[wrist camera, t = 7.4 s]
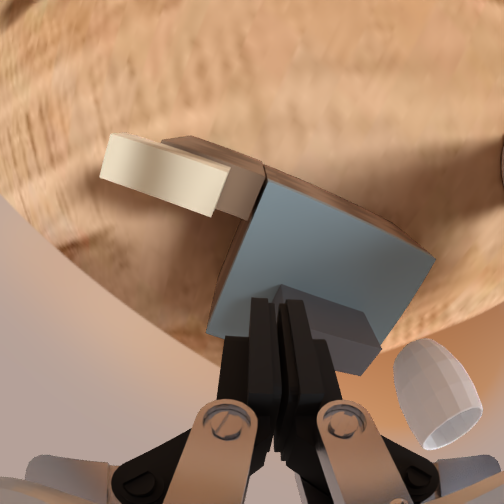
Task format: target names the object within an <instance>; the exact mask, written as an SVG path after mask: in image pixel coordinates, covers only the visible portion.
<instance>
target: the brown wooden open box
mask: <svg viewBox="0 0 504 504" xmlns="http://www.w3.org/2000/svg"><path fill="white" fill-rule="evenodd" d="M161 143H162V144H165V145H168V146H171V147H174V148H177V149H180V150H183V151H186V152H189V153H192V154H195V155H198V156H201V157H203V158H206V159H209V160H212V161H215V162H217V163H220V164H223V165H226V166H228V167H231V168H230V171H229V173H228V176H227V179H226V181H225V184H224V186H223V189H222V192H221V194H220V197H219V200H218V202H217V205H216V208H215V209H217V210H220V211H223V212H226V213H228V214H231V215H234V216H236V217H239V218H242V219H241V221H240V224H239V226H238V229H237V231H236V234H235V236H234V239H233V241H232V244H231V246H230V249H229V251H228V254H227V256H226V259H225V261H224V264H223V267H222V269H221V272H220V274H219V277H218V280H217V284H216V289H215V293H214V297H213V302H212V306H211V311H210V315H209V320H210V317H211V315H212V312H213V310H214V307H215V305H216V302H217V300H218V297H219V295H220V293H221V290H222V288H223V285H224V283H225V280H226V278H227V275H228V273H229V270H230V268H231V266H232V263H233V261H234V258H235V256H236V253H237V251H238V248H239V246H240V244H241V241H242V239H243V236H244V234H245V232H246V229H247V227H248V224H249V222H250V219H251V217H252V215H253V212H254V210H255V207H256V205H257V203H258V200H259V198H260V196H261V193H262V191H263V188H264V186H265V184H266V181H267V179H270V180H273V181H275V182H278V183H280V184H283V185H285V186H287V187H290V188H292V189H295V190H297V191H299V192H302V193H304V194H306V195H309V196H311V197H313V198H316V199H318V200H320V201H322V202H325V203H327V204H329V205H331V206H334V207H336V208H338V209H340V210H342V211H345V212H347V213H349V214H351V215H353V216H355V217H358V218H360V219H362V220H364V221H366V222H368V223H370V224H372V225H374V226H376V227H378V228H381V229H383V230H385V231H387V232H389V233H391V234H393V235H395V236H397V237H399V238H401V239H403V240H405V241H406V242H408V243H410V244H412V245H414V246H416V247H418V248H420V249H422V250H424V251H426V250H425V249H424V248H422V247H421V246H420V245H419V244H418V243H417V242H415V241H414V240H413V239H412V238H410V237H409V236H408V235H407V234H406V233H404V232H403V231H402V230H401V229H399V228H398V227H397V226H396V225H394V224H393V223H392V222H390V221H388V220H386V219H384V218H382V217H380V216H378V215H376V214H374V213H372V212H370V211H368V210H366V209H364V208H362V207H360V206H358V205H356V204H354V203H351V202H349V201H347V200H345V199H343V198H341V197H339V196H337V195H334V194H332V193H330V192H328V191H326V190H323V189H321V188H319V187H317V186H314V185H312V184H310V183H308V182H305V181H303V180H301V179H298V178H296V177H294V176H291V175H289V174H286V173H284V172H282V171H279V170H277V169H274V168H272V167H269V166H267V165H263V164H262V161H260V160H257V159H254V158H252V157H249V156H247V155H244V154H241V153H239V152H236V151H233V150H231V149H228V148H225V147H222V146H220V145H217V144H214V143H211V142H208V141H205V140H203V139H200V138H197V137H194V136H185V137H178V138H171V139H164V140H162V141H161ZM426 252H427V251H426ZM427 253H428V252H427ZM429 254H430V253H429ZM209 320H208V322H209Z"/></svg>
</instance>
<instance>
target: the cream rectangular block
mask: <svg viewBox="0 0 504 504" xmlns="http://www.w3.org/2000/svg"><path fill="white" fill-rule="evenodd" d="M230 168H231V167H228V166H226V165H223V164H220V163H217V162H215V161H212V160H209V159H206V158H203V157H201V156H198V155H195V154H192V153H189V152H186V151H183V150H180V149H177V148H174V147H171V146H168V145H165V144H162V143H159V142H156V141H153V140H150V139H146V138H143V137H140V136H137V135H133V134H130V133H127V132H124V133H113V134H111V135H110V138H109V142H108V145H107V149H106V153H105V156H104V160H103V164H102V168H101V173H100V177H99V178H102V179H105V180H108V181H111V182H114V183H117V184H119V185H122V186H125V187H128V188H131V189H134V190H136V191H139V192H142V193H145V194H148V195H150V196H153V197H156V198H159V199H161V200H164V201H167V202H170V203H173V204H175V205H178V206H181V207H183V208H186V209H189V210H192V211H194V212H197V213H200V214H203V215H205V216H208V217H211V216H212V214H213V212H214V210H215V208H216V205H217V202H218V200H219V197H220V194H221V192H222V189H223V186H224V184H225V181H226V179H227V176H228V173H229V171H230Z"/></svg>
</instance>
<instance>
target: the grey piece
mask: <svg viewBox="0 0 504 504" xmlns="http://www.w3.org/2000/svg"><path fill="white" fill-rule="evenodd" d="M435 260H436V259H435V258H434V257H433V256H432V255H431V254H429V253H427V252H426V251H424V250H422V249H420V248H418V247H416V246H414V245H412V244H410V243H408V242H406V241H405V240H403V239H401V238H399V237H397V236H395V235H393V234H391V233H389V232H387V231H385V230H383V229H381V228H378V227H376V226H374V225H372V224H370V223H368V222H366V221H364V220H362V219H360V218H358V217H355V216H353V215H351V214H349V213H347V212H345V211H342V210H340V209H338V208H336V207H334V206H331V205H329V204H327V203H325V202H322V201H320V200H318V199H316V198H313V197H311V196H309V195H306V194H304V193H302V192H299V191H297V190H295V189H292V188H290V187H287V186H285V185H283V184H280V183H278V182H275V181H273V180H270V179H267V181H266V184H265V186H264V188H263V191H262V193H261V196H260V198H259V200H258V203H257V205H256V207H255V210H254V212H253V215H252V217H251V219H250V222H249V224H248V227H247V229H246V232H245V234H244V236H243V239H242V241H241V244H240V246H239V248H238V251H237V253H236V256H235V258H234V261H233V263H232V266H231V268H230V270H229V273H228V275H227V278H226V280H225V283H224V285H223V288H222V290H221V293H220V295H219V297H218V300H217V302H216V305H215V307H214V310H213V312H212V315H211V317H210V320H209V322H208V325H207V329H206V333H207V334H210V335H213V336H216V337H219V338H222V339H225V335H226V336H241V337H248V336H249V322H250V308H251V297H254V298H268V303H274V304H275V314H276V323H277V315H278V307H279V303H285V300H286V299H295V300H303V302H304V306H305V310H306V314H307V318H308V322H309V326H310V330H311V335H312V339H325V340H326V342H327V345H328V348H329V352H330V355H331V359H332V362H333V366H334V370H335V371H339V372H344V373H349V374H353V375H358V376H361V375H362V374H363V373H364V371H365V370H366V369H367V367H368V366H369V365H370V364H371V362H372V361H373V360H374V359H375V358H376V356H377V355H378V354H379V352H380V351H381V350H382V348H381V346H380V345H381V344H382V342H383V341H384V339H385V338H386V337H387V335H388V334H389V333H390V331H391V330H392V328H393V327H394V325H395V324H396V323H397V321H398V320H399V318H400V317H401V315H402V314H403V312H404V311H405V309H406V308H407V306H408V305H409V303H410V302H411V300H412V299H413V297H414V295H415V294H416V292H417V291H418V289H419V287H420V286H421V284H422V282H423V281H424V279H425V277H426V276H427V274H428V272H429V271H430V269H431V267H432V266H433V264H434V262H435Z"/></svg>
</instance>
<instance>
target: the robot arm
mask: <svg viewBox="0 0 504 504" xmlns="http://www.w3.org/2000/svg"><path fill="white" fill-rule="evenodd" d="M502 178H503V184H504V148H503V152H502ZM273 435H274V452H281V461H286V466H288V467H289V468H290V469H292V470H293V471H294V472H295V479H296V483H297V487H298V490H299V494H300V498H301V501H302V504H504V471H501V469H500V465H499V463H498V461H497V460H496V459H495V458H494V457H492V456H490V455H478V456H471V457H462V458H452V459H440V460H437V461H436V462H435V463H432V462H430V461H429V460H427V459H426V458H424V457H422V456H420V455H418V454H416V453H414V452H412V451H410V450H408V449H406V448H404V447H402V446H400V445H398V444H397V443H394V442H393V441H391V440H389V439H387V438H385V437H384V436H382V435H380V433H379V431H378V429H377V427H376V425H375V423H374V421H373V419H372V417H371V416H370V414H369V413H368V411H367V410H366V409H365V408H364V407H363V406H361V405H360V404H357V403H355V402H353V401H348V400H342V396H341V392H340V388H339V384H338V381H337V377H336V373H335V370H334V366H333V362H332V359H331V355H330V352H329V348H328V345H327V342H326V340H325V339H312V335H311V330H310V326H309V322H308V318H307V314H306V310H305V306H304V302H303V300H295V299H286V300H285V303H279V307H278V315H277V323H276V314H275V304H274V303H268V298H254V297H251V308H250V322H249V336H248V337H241V336H226V335H225V339H224V347H223V354H222V362H221V369H220V377H219V385H218V392H217V400H215V401H213V402H210V403H208V404H206V405H205V406H204V407H202V408H201V409H200V411H199V413H198V414H197V416H196V419H195V421H194V424H193V427H192V428H191V429H189V430H187V431H186V432H184V433H182V434H180V435H178V436H177V437H175V438H173V439H171V440H169V441H167V442H165V443H164V444H162V445H160V446H158V447H156V448H154V449H152V450H150V451H148V452H146V453H144V454H142V455H140V456H138V457H136V458H134V459H132V460H130V461H128V462H126V463H124V464H122V465H121V466H112V465H109V464H108V463H107V462H96V461H86V460H78V459H70V458H63V457H57V456H51V455H39V456H37V457H34V458H33V459H32V460H31V461H30V462H29V464H28V467H27V469H26V475H25V480H22V479H16V478H9V477H0V504H244V502H245V498H246V493H247V488H248V483H249V479H250V476H251V475H252V474H253V473H255V472H256V471H257V470H259V469H260V468H261V467H262V466H264V462H265V457H266V453H267V452H269V451H270V447H271V442H272V438H273Z"/></svg>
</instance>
